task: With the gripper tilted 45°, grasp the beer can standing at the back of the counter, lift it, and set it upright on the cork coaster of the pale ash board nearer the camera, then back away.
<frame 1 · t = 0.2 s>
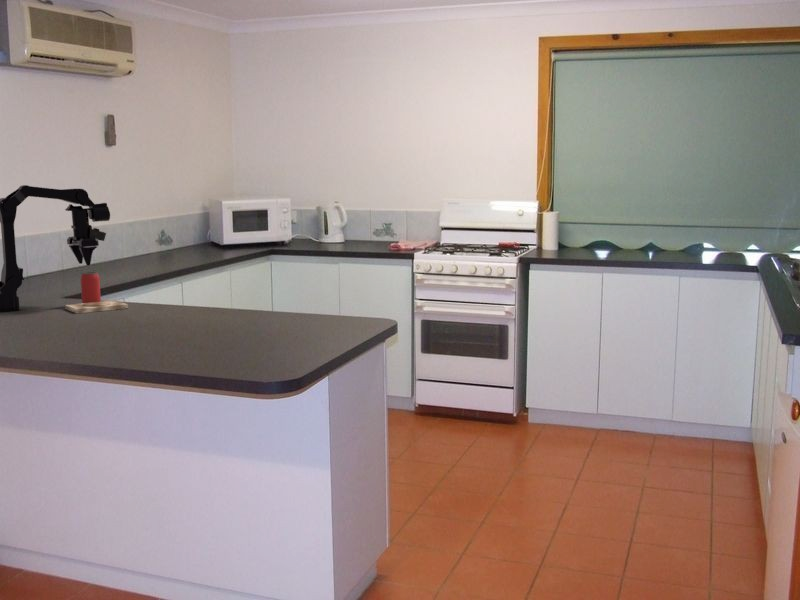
hand: (84, 264, 316), 15 cm above the worktop, tool pointing down, fingers open, 9 cm apart
ash board: (96, 308, 303), on the worktop
beer can: (91, 305, 314), on the worktop
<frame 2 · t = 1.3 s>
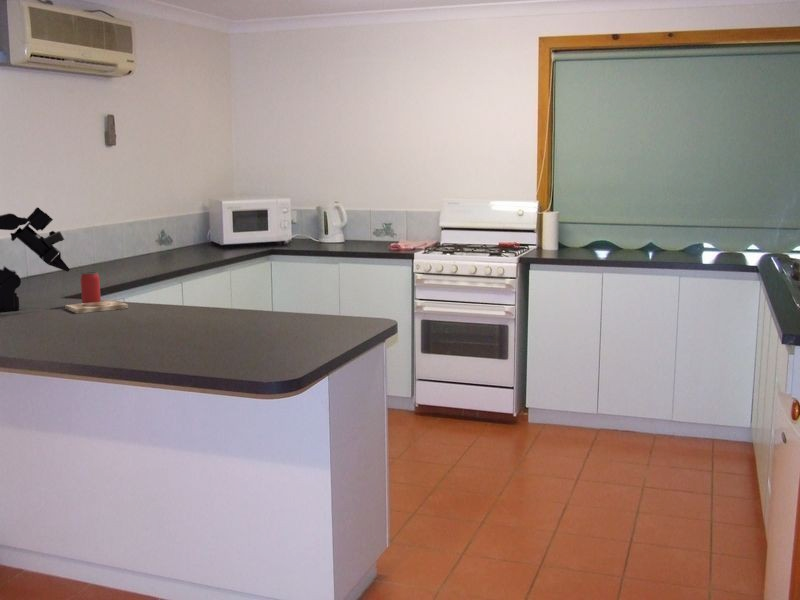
hand: (67, 269, 309), 14 cm above the worktop, tool tilted 45°, fingers open, 9 cm apart
nothing on the worktop moved.
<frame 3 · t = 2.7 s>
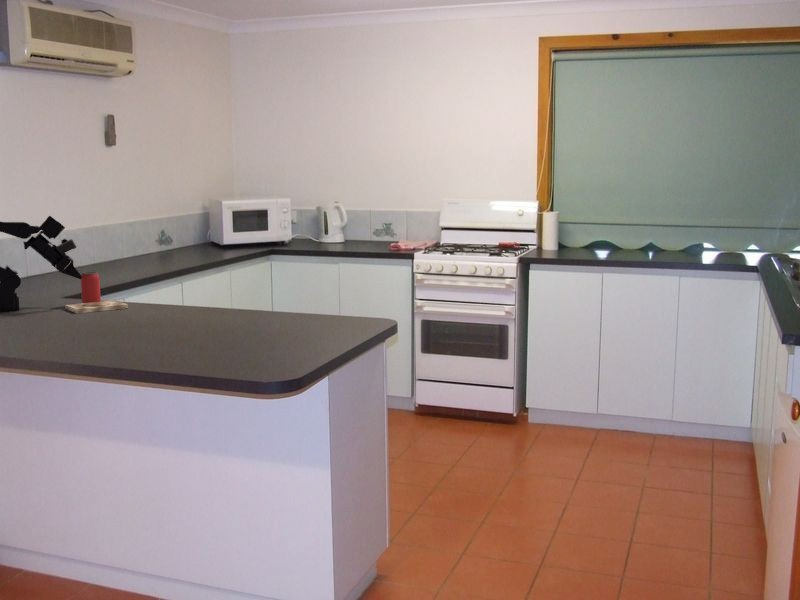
hand: (79, 277, 311), 11 cm above the worktop, tool tilted 45°, fingers open, 9 cm apart
nothing on the worktop moved.
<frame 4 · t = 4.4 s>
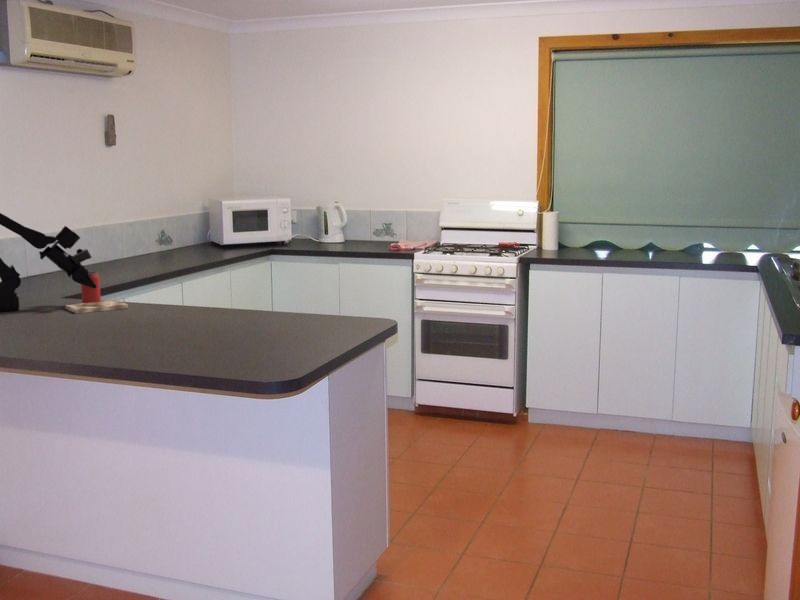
hand: (94, 286, 314), 7 cm above the worktop, tool tilted 45°, fingers closed on beer can, 7 cm apart
beer can: (91, 305, 314), on the worktop, touching gripper
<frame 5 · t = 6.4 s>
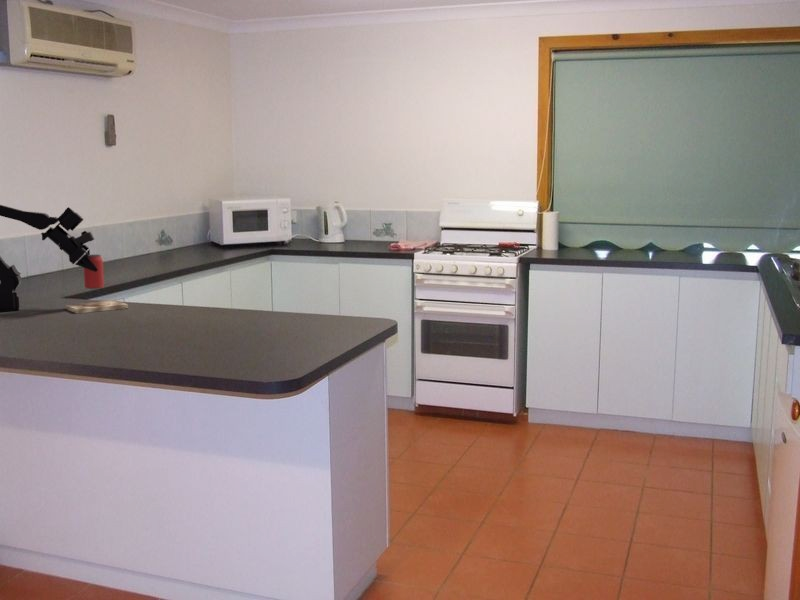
hand: (97, 269, 308), 13 cm above the worktop, tool tilted 45°, fingers closed on beer can, 7 cm apart
beer can: (94, 288, 308), point 7 cm above the worktop, touching gripper
when the fingers open (9 cm above the worktop, at t = 8.5 s): beer can stays where it is, resting on ash board.
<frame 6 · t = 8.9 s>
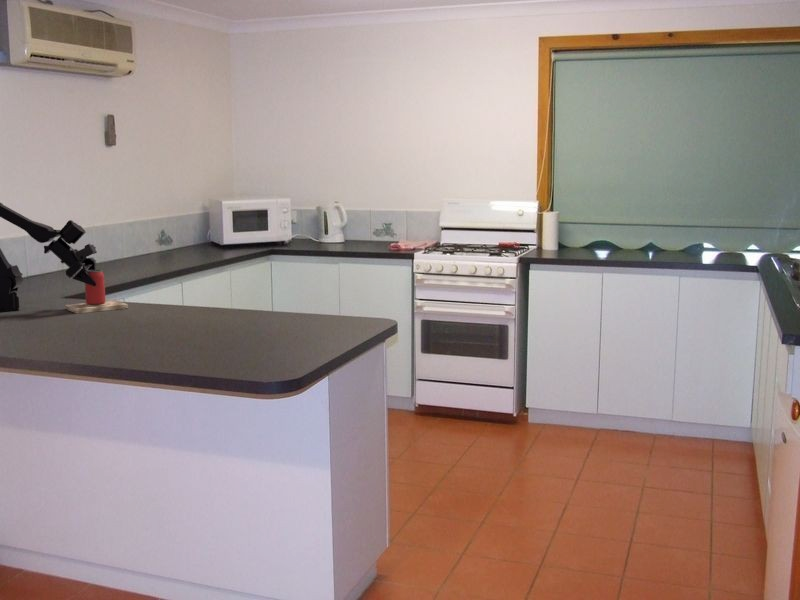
hand: (99, 283, 302), 9 cm above the worktop, tool tilted 45°, fingers open, 9 cm apart
beer can: (95, 304, 303), point 2 cm above the worktop, touching ash board
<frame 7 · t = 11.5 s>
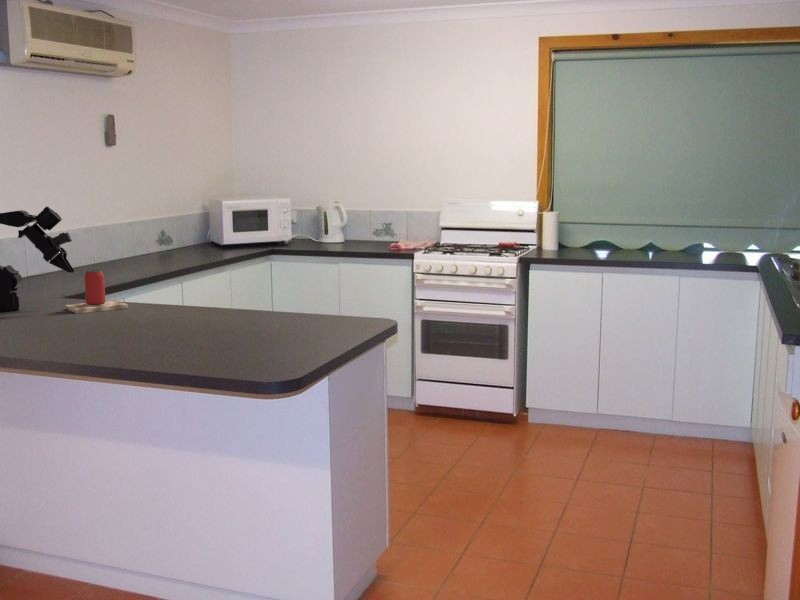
hand: (72, 271, 303), 13 cm above the worktop, tool tilted 40°, fingers open, 9 cm apart
nothing on the worktop moved.
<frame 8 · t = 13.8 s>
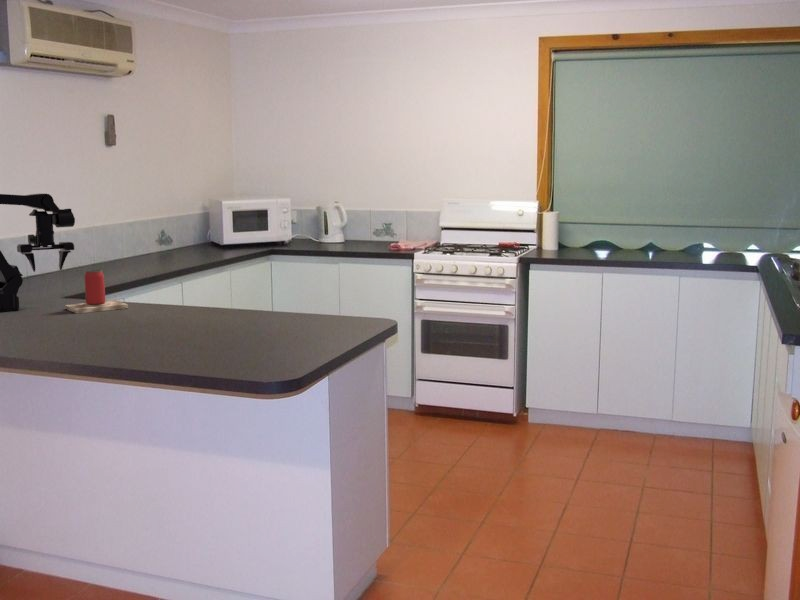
hand: (47, 270, 310), 13 cm above the worktop, tool pointing down, fingers open, 9 cm apart
nothing on the worktop moved.
at the end: beer can 0.2 cm off-centre on the ash board, point 1.6 cm above the ash board's base; beer can tilted 0°; the gripper is holding nothing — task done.
